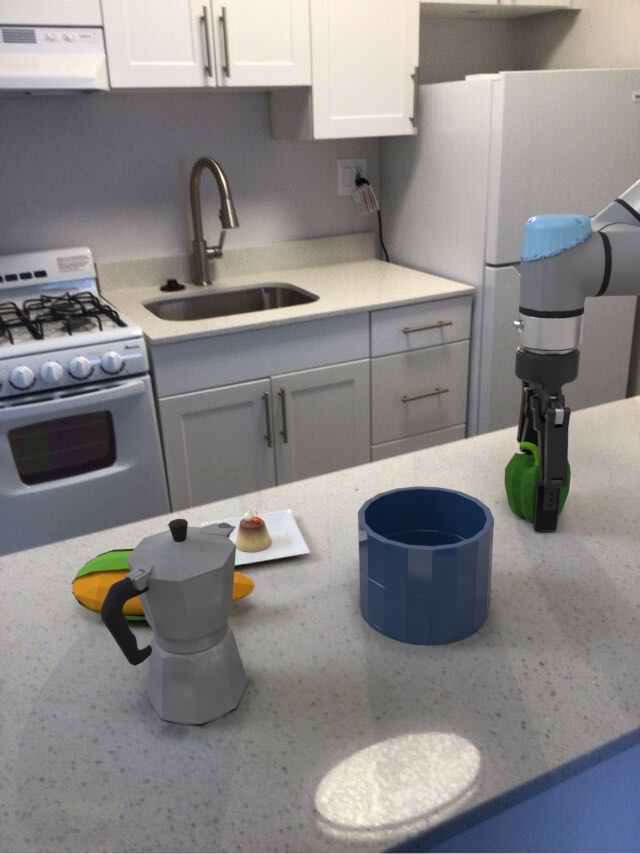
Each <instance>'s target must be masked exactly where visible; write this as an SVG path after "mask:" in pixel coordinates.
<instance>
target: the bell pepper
mask: <svg viewBox="0 0 640 854" xmlns="http://www.w3.org/2000/svg"><path fill="white" fill-rule="evenodd" d="M518 445H519V447H520V448H521V449H522V450H523V449H529V450H531V451H532V452H533V453H534V454H532V455H531V456H529V455H525V454H523V453H521V452H520V453H519V452H515V453H514V454H513V455H512V457H511V458H510V460H509V461H508V462H507V464H506V466H505V468H504V488H505V494H506V498H507V503H508V506H509V509H510V510H511V512H512V513H513V514H514V515H516V516H517V517H524V518H525V520H527V521H528V522H530V523H533V524H534V516H535V502H536V487H535V486H534V482H538V481H539V480H540V473H539V450H538V447H537V446H536V445H535V444H532V443H529V442H521V443H518ZM571 477H572V472H571V463H570V461H569V460H568V467H567V487H561V488H560V496H559V508H558V516H560V514H561V513H562V511H563V510H564V507H565V505H566V503H567V498H568V496H569V493H570V486H571Z"/></svg>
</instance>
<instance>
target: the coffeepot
mask: <svg viewBox="0 0 640 854" xmlns="http://www.w3.org/2000/svg"><path fill="white" fill-rule="evenodd" d="M188 524H189V522H188V520H187V519H186V518H176V519H175V518H174V519H172V520H170V521H169V522H168V524H167V525H168V529H167V530H164V531H161V532H158V533H155V534H152V535H149V536H148V535H147V536H144V537H142V538H141V540H140V541H139V543H138V544H137V545H136V546H135V547H134V548H135V549H134V548H133V549H134V550H133V551H132V552H131V553H130V554H129V555H128V557H127V558H126V561H127V562H128V565H129V569H130V572H129V573H128V574H126V575H125V578H124V579H122V580H120V581H117V582H116V583H114V584H113V585H112V586H111V587H110V589H109V591H108V593H107V596H106V598H105V600H104V602H103V604H102V607H101V615H100V617H101V619H102V622H103V624H104V626H105V627H106V628H107V630H108V631H109V633H110V634H111V636H112V638H113V640H114V641H115V643H116V644H117V646H118V647H119V649H120V650H121V652H122V654H123V656H124V657H125V658H126V660H127V662H128V664H130V665H131V666H138V665H140V664H142V663H143V662H145V661H146V660H147V659H148V658H149V664H148V668H149V669H148V680H147V681H148V684H147V698H148V700H149V701H150V703H151V705H152V707H153V709H154V711H155V712H156V713H157V714H158V716H159V717H160V719H161V720H163V721H166V722H168V723H169V722H170V723H173V724H177V725H183V726H184V725H185V726H193V725H202V724H207V723H211V722H213V721H216V720H219V719H221V718H222V717H224V716H226V715H228V714H229V713H230V712H231V711H233V710H234V709H236V708H237V707H238V705H239V703H240V702H241V700H242V698H243V695H244V694H245V693H244V692H245V689H246V687H247V686H248V683H249V680H248V677H247V673H246V670H245V667H244V663H243V661H242V657H241V655H240V651H239V647H238V644H237V641H236V637H235V634H234V631H233V628H232V626H231V625H230V624H229V619H228V617H229V615H230V613H231V611H232V609H233V602H232V597H233V584H234V571H236V570H235V569H236V566H235V556H236V544H234V543H233V542H232V541H231V540H230V539H229V537H230V534H231V533H232V531H233V530H234V529H235V528H236V527H235V526H231V525H230V524H228V523H220V524H217V523H215V524H211V525H208V526H204V527H201V526H188ZM136 596H139V599H140V602H141V605H142V608H143V611H144V614H145V615H144V617H146V620H145V621H146V622H147V624H148V625H149V626H150V628H151V630H153V631H152V632H153V635H152V638H151V640H150V644H148V645H147V646H146V647H143V648H140V649H139V646H138V640H137V636H136V635H135V634H134V633H133V632H132V630H131V628H130V626H129V623H128V620H127V619H126V617H125V616H126V615H124V614H123V613H122V610H123V606H124V604H125V602H126V601H128V600H129V599H131V598H134V597H136Z"/></svg>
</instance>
